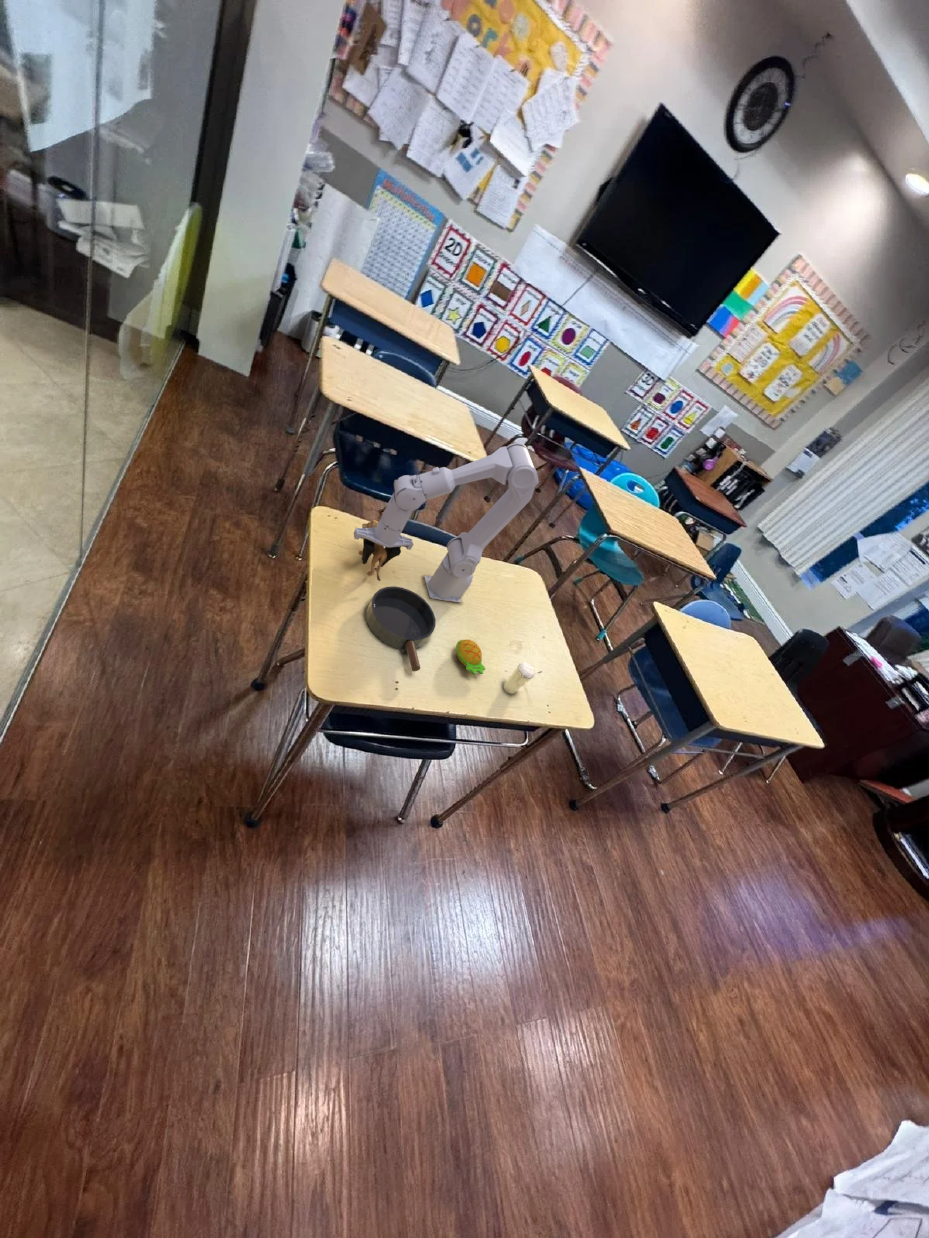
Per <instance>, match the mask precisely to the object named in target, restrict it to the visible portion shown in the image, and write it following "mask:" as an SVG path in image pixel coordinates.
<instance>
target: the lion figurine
mask: <svg viewBox="0 0 929 1238" xmlns="http://www.w3.org/2000/svg"><path fill="white" fill-rule="evenodd" d="M378 523H379V521H378V520H376V519H373V518H372V519H371V521H369V522H367V523H362V524H361V526H362V527H361V528H376V527H377V525H378ZM374 543H375V542H374ZM374 547H375V551H374V552H373V553H372V554H371V555H370V557H371V556H372V558H371V562H370V569H369V570H370V571H367V573H366V575H367V576H368V577H372V576H373V575H374V572H375V573H376V580H377V581H378V582H381V581H382V580H381V577H380V569H381V568H382V567H381V565H382V564H383V563H384V562H385V560H386V558H387V551H386V550H385V547H384V546H382V545H379V544H377V543H375V544H374ZM358 555H360V556H362V555H363V549H362V550H359V551H358ZM377 562H378V564H377ZM376 564H377V566H376ZM375 566H376V567H375Z"/></svg>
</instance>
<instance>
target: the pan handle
mask: <svg viewBox="0 0 929 1238" xmlns="http://www.w3.org/2000/svg"><path fill="white" fill-rule="evenodd" d="M400 650H401V654H402V655H407V657H408V661H409V665H410V670H411V671H412V672H417V671H420V669H421V664H420V661H419V660H420V659H419V657H418V651H417V649H416V648H415V644H414V641H407V642H406V643H405V645H404V646H403V648H402V649H400Z"/></svg>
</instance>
